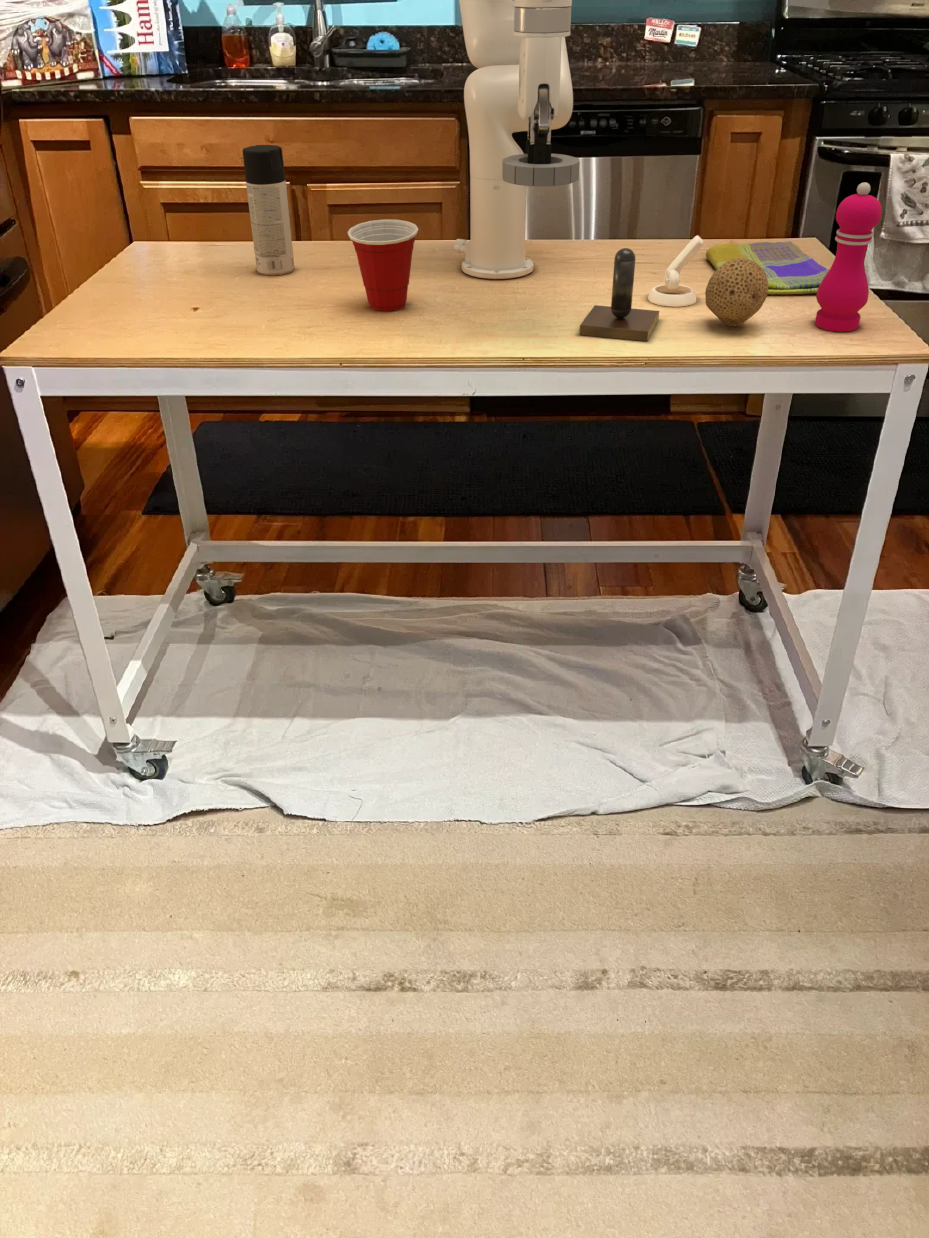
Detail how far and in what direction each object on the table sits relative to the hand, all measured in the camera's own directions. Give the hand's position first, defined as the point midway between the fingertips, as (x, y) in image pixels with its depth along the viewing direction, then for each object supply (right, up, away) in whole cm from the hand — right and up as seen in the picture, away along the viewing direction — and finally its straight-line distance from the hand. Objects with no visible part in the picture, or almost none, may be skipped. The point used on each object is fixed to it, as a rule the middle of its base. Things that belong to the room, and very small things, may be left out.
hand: (537, 171), depth 144 cm
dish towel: (+42, -5, +30) cm, 52 cm away
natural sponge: (+29, -20, +8) cm, 36 cm away
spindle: (+13, -20, +8) cm, 25 cm away
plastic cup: (-23, -14, +17) cm, 32 cm away
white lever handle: (+23, -12, +19) cm, 32 cm away
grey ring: (0, -2, -3) cm, 4 cm away
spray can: (-44, -2, +35) cm, 56 cm away
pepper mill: (+45, -20, +8) cm, 50 cm away
